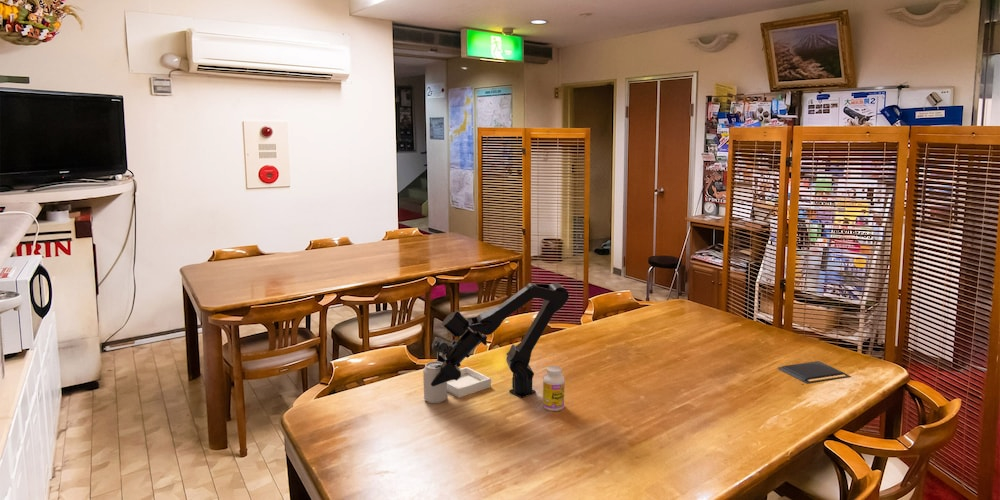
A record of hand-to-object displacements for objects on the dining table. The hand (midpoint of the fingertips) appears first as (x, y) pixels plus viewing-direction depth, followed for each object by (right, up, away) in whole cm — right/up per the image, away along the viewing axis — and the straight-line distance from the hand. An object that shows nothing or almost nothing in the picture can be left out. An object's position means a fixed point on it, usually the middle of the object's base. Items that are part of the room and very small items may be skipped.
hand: (430, 380), depth 197 cm
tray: (+9, -4, +12) cm, 16 cm away
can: (+1, -7, +2) cm, 7 cm away
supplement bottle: (+39, -8, -4) cm, 40 cm away
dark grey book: (+134, -3, +23) cm, 136 cm away
